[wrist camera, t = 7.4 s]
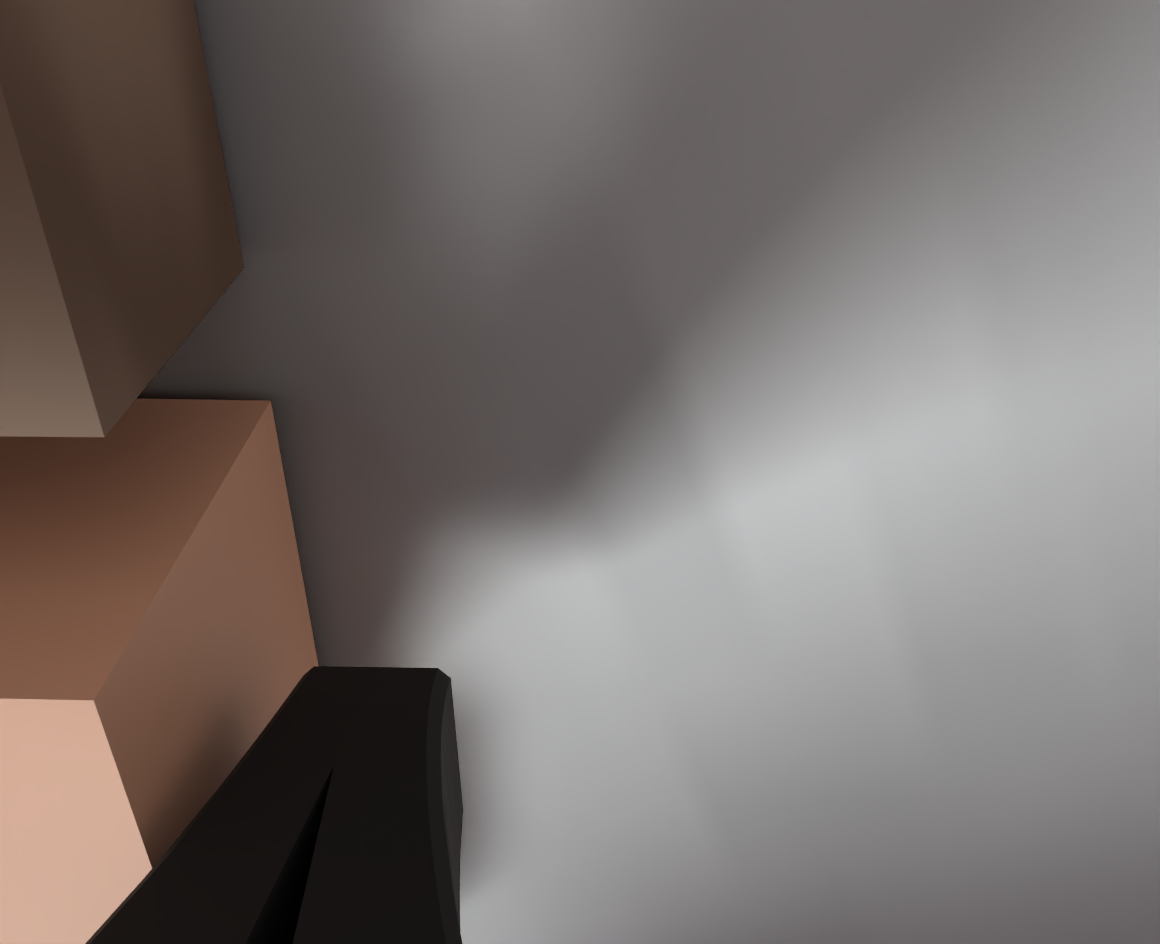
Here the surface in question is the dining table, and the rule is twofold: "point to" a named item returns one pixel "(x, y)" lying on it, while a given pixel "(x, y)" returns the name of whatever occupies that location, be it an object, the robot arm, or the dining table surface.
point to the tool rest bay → (103, 206)
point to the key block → (135, 645)
